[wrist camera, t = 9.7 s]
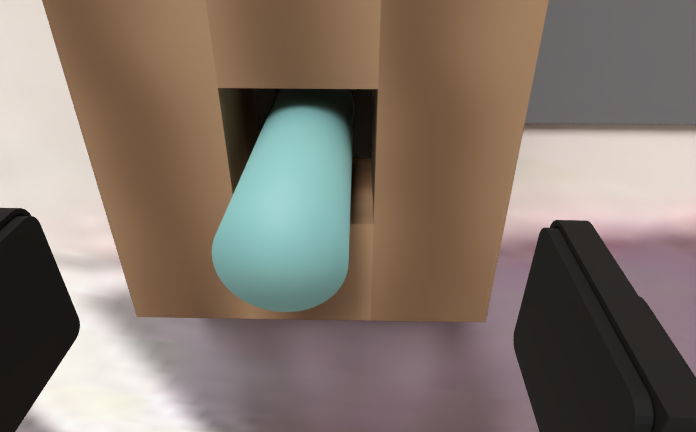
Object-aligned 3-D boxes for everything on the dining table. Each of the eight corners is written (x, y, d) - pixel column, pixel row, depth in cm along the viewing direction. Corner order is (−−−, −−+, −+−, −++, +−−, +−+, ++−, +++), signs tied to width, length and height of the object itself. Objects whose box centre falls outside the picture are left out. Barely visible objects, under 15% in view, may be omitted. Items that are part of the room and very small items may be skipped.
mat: (848, -130, 15) (859, -130, 15) (739, 121, 19) (746, 124, 19) (549, -129, 15) (554, -130, 15) (506, 119, 20) (508, 122, 19)
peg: (353, 67, 19) (348, 202, 10) (353, 141, 20) (348, 313, 12) (273, 66, 19) (201, 201, 10) (279, 141, 20) (221, 311, 12)
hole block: (511, -91, 16) (566, -90, 12) (462, 244, 23) (485, 322, 19) (106, -91, 16) (15, -89, 12) (178, 241, 23) (136, 316, 19)
